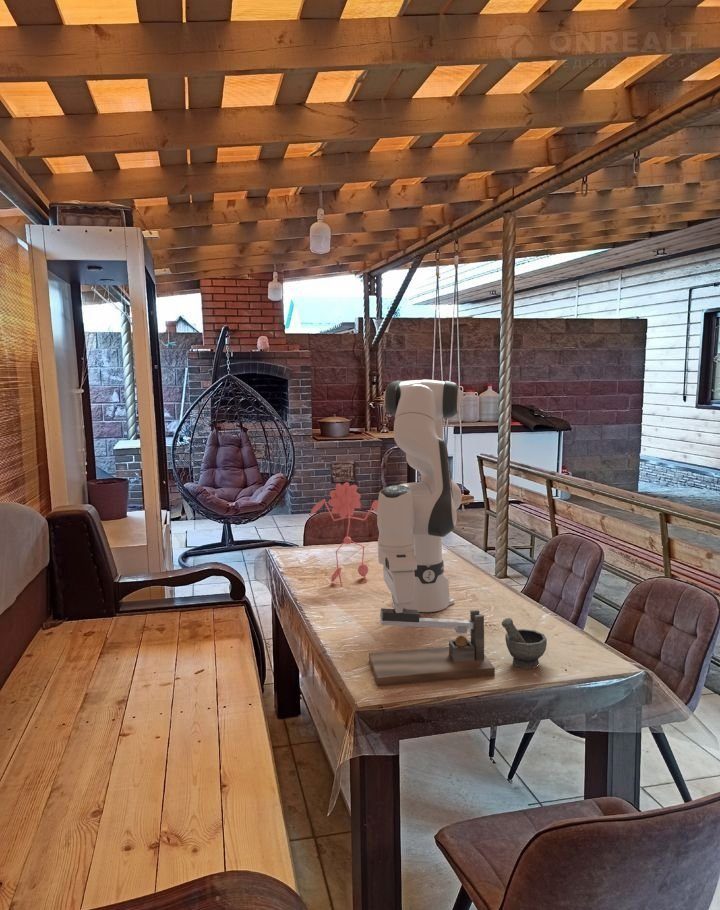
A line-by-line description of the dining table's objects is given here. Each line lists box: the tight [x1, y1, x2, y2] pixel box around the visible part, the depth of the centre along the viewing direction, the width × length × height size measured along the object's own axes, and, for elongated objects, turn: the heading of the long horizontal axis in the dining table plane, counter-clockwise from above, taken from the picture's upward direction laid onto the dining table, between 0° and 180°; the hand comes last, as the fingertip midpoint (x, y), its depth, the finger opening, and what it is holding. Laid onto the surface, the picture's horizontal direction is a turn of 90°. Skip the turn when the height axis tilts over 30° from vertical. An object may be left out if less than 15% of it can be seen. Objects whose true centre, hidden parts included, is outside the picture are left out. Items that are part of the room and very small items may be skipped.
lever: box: [379, 607, 475, 634], centre depth 158 cm, size 3×24×4 cm, turn 97°
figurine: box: [309, 481, 378, 587], centre depth 231 cm, size 15×26×35 cm, turn 112°
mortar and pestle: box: [501, 617, 548, 670], centre depth 160 cm, size 11×9×12 cm
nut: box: [454, 635, 468, 647], centre depth 160 cm, size 3×3×3 cm
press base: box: [368, 609, 496, 687], centre depth 159 cm, size 14×28×13 cm, turn 97°
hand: (397, 610), depth 157 cm, fingers closed, pressing on lever
